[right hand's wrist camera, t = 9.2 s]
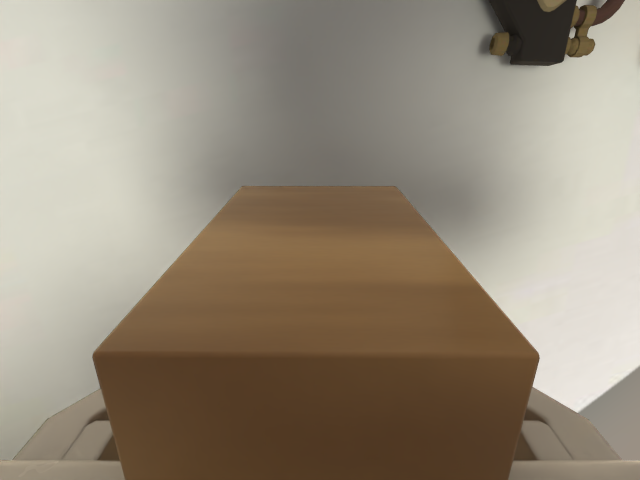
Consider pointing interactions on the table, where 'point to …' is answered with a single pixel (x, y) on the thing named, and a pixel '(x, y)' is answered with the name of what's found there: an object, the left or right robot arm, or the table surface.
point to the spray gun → (546, 29)
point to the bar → (316, 350)
